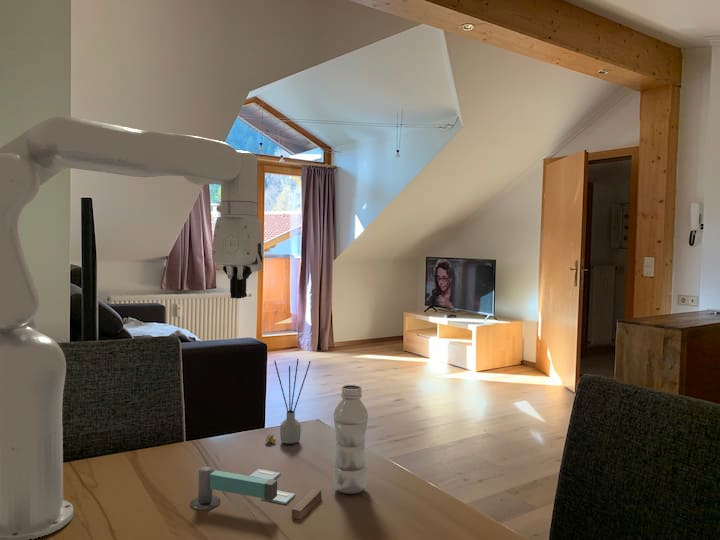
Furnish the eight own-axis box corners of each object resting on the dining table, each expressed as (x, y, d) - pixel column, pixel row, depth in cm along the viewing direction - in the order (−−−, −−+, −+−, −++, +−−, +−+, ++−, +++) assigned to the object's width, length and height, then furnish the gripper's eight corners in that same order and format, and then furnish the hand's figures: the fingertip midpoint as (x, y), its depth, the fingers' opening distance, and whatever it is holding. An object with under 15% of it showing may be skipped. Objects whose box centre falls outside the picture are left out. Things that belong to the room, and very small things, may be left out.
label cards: (229, 492, 103) (229, 489, 103) (258, 470, 113) (258, 468, 113) (285, 504, 99) (285, 501, 99) (311, 480, 108) (311, 478, 108)
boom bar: (195, 502, 98) (195, 471, 97) (203, 496, 100) (203, 465, 100) (270, 516, 93) (271, 484, 93) (277, 510, 95) (277, 478, 95)
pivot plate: (184, 506, 97) (184, 505, 97) (202, 494, 102) (202, 493, 102) (208, 512, 95) (208, 511, 95) (226, 499, 100) (226, 498, 100)
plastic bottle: (363, 500, 101) (366, 393, 100) (328, 496, 102) (330, 390, 101) (370, 485, 107) (372, 384, 106) (336, 481, 109) (338, 381, 107)
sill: (291, 517, 94) (292, 509, 94) (313, 496, 102) (313, 488, 102) (300, 519, 93) (300, 511, 93) (321, 498, 101) (321, 490, 101)
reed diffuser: (308, 438, 132) (310, 356, 130) (310, 449, 125) (311, 362, 124) (265, 439, 130) (266, 356, 129) (264, 451, 123) (266, 363, 122)
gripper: (198, 210, 115) (197, 297, 116) (260, 210, 109) (259, 301, 110) (219, 212, 122) (218, 294, 123) (278, 212, 116) (277, 298, 117)
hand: (238, 297), depth 116 cm, fingers closed
